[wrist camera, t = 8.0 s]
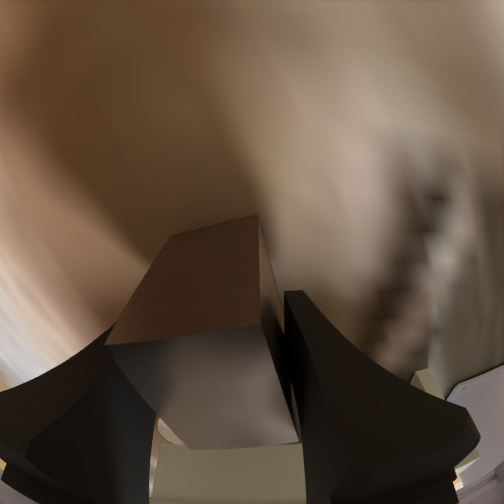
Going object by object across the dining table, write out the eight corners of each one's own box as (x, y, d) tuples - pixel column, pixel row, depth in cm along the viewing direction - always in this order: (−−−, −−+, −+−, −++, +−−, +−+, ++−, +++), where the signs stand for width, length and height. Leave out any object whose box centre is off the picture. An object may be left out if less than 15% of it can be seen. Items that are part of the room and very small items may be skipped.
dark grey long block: (258, 214, 10) (261, 323, 5) (310, 428, 17) (319, 503, 12) (169, 237, 11) (103, 345, 5) (261, 436, 17) (262, 510, 12)
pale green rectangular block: (432, 364, 15) (480, 456, 8) (392, 435, 19) (414, 505, 12) (166, 390, 15) (141, 506, 8) (198, 455, 19) (190, 533, 12)
